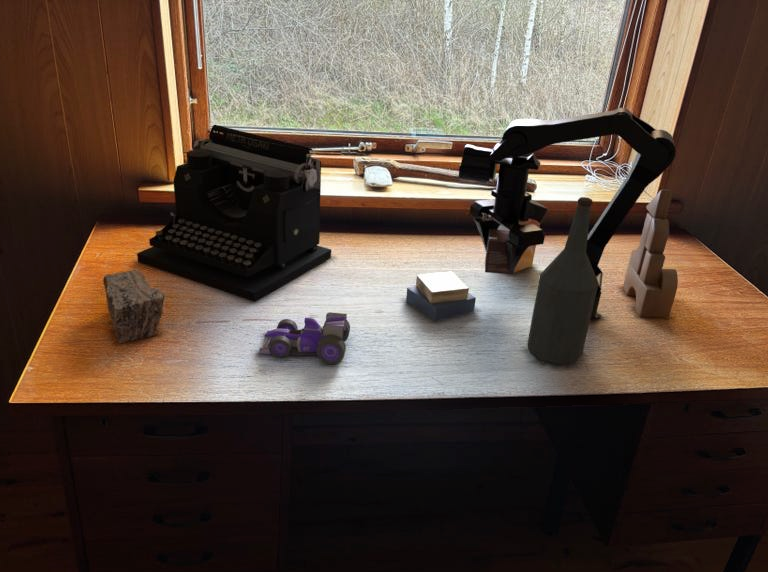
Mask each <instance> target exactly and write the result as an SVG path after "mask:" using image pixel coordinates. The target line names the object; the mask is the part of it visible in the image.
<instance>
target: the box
mask: <svg viewBox="0 0 768 572" xmlns="http://www.w3.org/2000/svg"><path fill="white" fill-rule="evenodd" d="M508 235H509V231H505V230H496V229H489V235H488V243H487V250H485V256H484V257H485V258H484V259H485V260H484V273H490V274H499V275H509V276H514V275H515V272H514V270H515V269H514V270H509V267H508V260H507V249H506V240H509V236H508Z"/></svg>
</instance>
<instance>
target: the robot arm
mask: <svg viewBox="0 0 768 572" xmlns="http://www.w3.org/2000/svg"><path fill="white" fill-rule="evenodd" d="M613 135H616V136H618V137H619V138H621V139H622V140H623V141H624V142H625V143H626V144H627V145H628V146H629V147H630V148H631V149H632V150H634V151H635V152H636V155H635V157H634V160H633V162H632V165H631V168H630V171H629V173H628V174H627V176H626V177H625V179H624V180H623V182H622V183H621V185H620V186H619V188H618V190H617V191H616V193H615V194H614V195H613V196H612V198H611V200H610V201H609V202H608V204H607V206H606V208H604V211H603V212H602V214H601V215H600V216H599V218H598V220H597V221H596V222H595V224H594V226H593V227H592V229H591V230H590V231H589V232H588V238H587V248H586V253H587V256H588V258H589V261H590V263H591V266H592V268H593V271H594V273H595V276H596V278H597V281H598V283H599V284H598V288H597V293H596V297H595V301H594V306H593V310H592V314H591V319H590V321H594V320H599V319H602V315H601V314H600V313H599V312H598V308H599V305H600V299H601V296H602V285H603V276H604V275H603V274H604V273H603V271H602V269H601V268H600V267H599V264H600V261H601V258H602V256H603V254H604V251H605V248H606V247H607V245H608V244H609V242H610V241H611V240H612V238H613V237H614V235H615V234H616V232H617V230H618V229H619V227H620V226H621V225H622V223H623V221H624V220H625V219H626V217H627V216H628V214H629V213H630V212H631V210H632V208H633V207H634V206H635V204H636V202H637V201H638V200H639V198H640V197H641V195H642V194H643V193H644V191H645V190H646V188H647V187H648V186H649V185H650V184H652V183H653V182H654V181H655V180H657V178H659V177H660V176H662V174H663V173H664V172H665V171H666V170H667V169H668V168H669V167H670V166H671V165H672V163H673V162H674V161H675V158H676V154H677V151H676V145H675V141H674V137H673V136H672V134H671V133H670V132H669V131H667V130H664V129H656V128H655V127H654V126H652V125H650V124H649V123H648V122H646V121H645V120H644V119H643V120H642V119H641V118H640V117H638V116H636V115H635V114H634V113H632V112H631V110H630V109H628V108H626V107H619V108H616V109H613V110H608V111H602V112H596V113H589V114H584V115H577V116H572V117H565V118H560V119H559V118H558V119H553V120H551V119H550V120H548V119H540V118H517V119H514V120H513V121H512V122H510V123H509V125H508V126H507V128H506V129H505V130H504V132H503V134H502V137H501V140H500V141H499V142H497V143H496V144H495V145H494V147H493V148H487V147H481V146H476V145H473V144H466V145H465V146H464V147H463V153H462V157H461V161H460V162H461V163H460V164H459V167H458V180H459V181H463V182H469V183H476V184H480V185H481V184H482V185H488V184H489V183H490V181H494V180H495V178H496V175H498V176H497V183H496V187H495V189H491V192H490V196H492V197H494V199H493V198H490V199H481V200H480V199H479V200H473V202H472V203H471V204H470V207H469V215H470V216H472V217H473V221H474V222H475V224H476V225H475V226H476V227H477V230H478V232H479V236H480V238H481V242H482V243H483V247H484V249H485V251H486V250H487V243H488V235H489V229H496V230H497V229H498V227H499V226H500V225H502V226H505V227H506V228H508V229H509V230H510V231H509V235H508V236H509V240H506V249H507V260H508V267H509V270H514V269H515V267H516V265H517V264H518V262H519V260H520V258H521V257H522V255H523V253H524V252H525V251H526V249H527V248H528V247H530V246H533V245H536V246H539V245H544V243H545V239H546V233H545V231H544V229H542V228H540V227H537V226H535V225H534V224H525V225H521V224H519V223H520V221H523V222H525V221H528V219H529V218H530V219H533V220H536V221H538V222H539V223H540V224H542V223H543V220H544V219H545V216H546V214H547V212H548V210H549V208H548V207H546V206H545V205H543V204H541V203H539V202H537V201H535V200H534V199H533V196H532V194H531V193H529V192H527V187H528V179H529V173H530V170H533V171H538V170H539V168H540V166H541V161H540V160H539V159H538V158H537V157H536V154H535V153H536V152H538V151H541V150H542V149H544V148H547V147H549V146H553V145H556V144H563V143H569V142H575V141H581V140H588V139H595V138H601V137H607V136H613ZM529 154H530V155H529ZM526 155H529V156H526ZM498 165H499V168H498ZM497 171H498V174H497Z"/></svg>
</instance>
